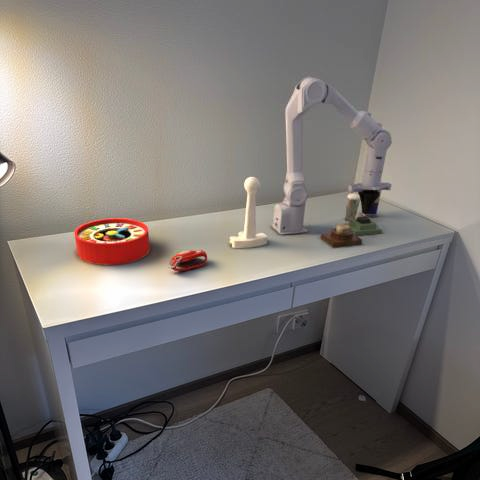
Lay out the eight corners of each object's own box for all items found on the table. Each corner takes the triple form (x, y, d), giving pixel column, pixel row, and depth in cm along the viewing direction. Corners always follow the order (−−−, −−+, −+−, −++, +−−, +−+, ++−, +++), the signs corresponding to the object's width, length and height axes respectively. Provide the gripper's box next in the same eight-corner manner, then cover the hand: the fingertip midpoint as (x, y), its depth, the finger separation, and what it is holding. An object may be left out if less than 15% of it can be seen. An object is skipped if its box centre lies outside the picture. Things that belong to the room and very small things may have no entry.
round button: (339, 234, 134) (340, 229, 133) (333, 230, 137) (334, 224, 136) (350, 233, 135) (351, 228, 134) (344, 229, 138) (345, 223, 137)
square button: (361, 224, 144) (362, 220, 143) (356, 221, 146) (357, 216, 146) (370, 223, 145) (370, 219, 144) (364, 220, 147) (365, 216, 147)
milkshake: (360, 222, 154) (365, 193, 148) (344, 221, 154) (349, 193, 148) (357, 217, 157) (362, 189, 152) (342, 217, 157) (347, 189, 152)
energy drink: (360, 216, 159) (366, 182, 153) (361, 212, 163) (367, 179, 157) (375, 218, 158) (382, 184, 151) (376, 213, 162) (383, 180, 156)
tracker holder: (170, 252, 123) (204, 244, 123) (174, 267, 125) (208, 259, 124) (165, 260, 112) (203, 251, 112) (170, 277, 113) (208, 268, 113)
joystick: (235, 249, 130) (237, 180, 119) (225, 240, 135) (226, 173, 125) (268, 244, 133) (273, 177, 123) (258, 236, 139) (262, 171, 129)
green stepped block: (355, 235, 142) (356, 226, 141) (342, 227, 149) (343, 218, 147) (381, 233, 145) (383, 224, 144) (368, 224, 152) (369, 216, 150)
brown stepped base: (332, 247, 133) (334, 236, 132) (320, 238, 140) (321, 227, 138) (361, 244, 136) (363, 234, 134) (348, 235, 143) (349, 225, 141)
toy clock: (58, 232, 120) (113, 213, 135) (62, 252, 124) (115, 232, 138) (109, 250, 111) (163, 228, 126) (112, 271, 115) (164, 247, 129)
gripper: (359, 174, 131) (352, 218, 139) (400, 172, 136) (391, 215, 143) (347, 169, 137) (340, 211, 144) (387, 167, 141) (378, 208, 148)
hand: (365, 213), depth 144 cm, fingers closed
